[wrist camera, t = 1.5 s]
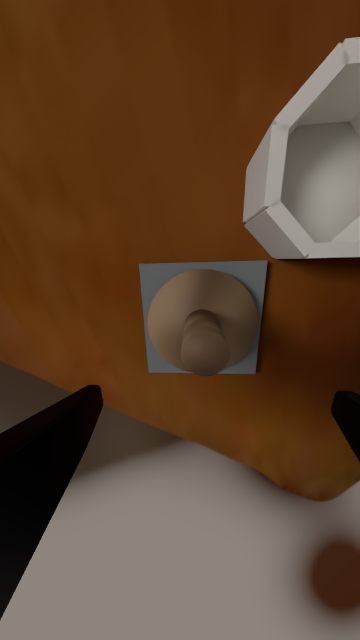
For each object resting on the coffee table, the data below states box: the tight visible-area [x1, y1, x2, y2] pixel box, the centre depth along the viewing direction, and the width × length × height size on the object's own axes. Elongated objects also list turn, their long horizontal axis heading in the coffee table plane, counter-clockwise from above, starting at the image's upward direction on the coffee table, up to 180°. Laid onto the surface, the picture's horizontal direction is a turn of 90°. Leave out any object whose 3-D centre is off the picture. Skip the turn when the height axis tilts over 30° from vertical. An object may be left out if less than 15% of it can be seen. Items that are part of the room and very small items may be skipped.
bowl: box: [243, 37, 360, 259], centre depth 11 cm, size 9×9×4 cm
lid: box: [148, 269, 258, 376], centre depth 13 cm, size 9×9×6 cm
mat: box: [139, 261, 267, 374], centre depth 17 cm, size 10×10×1 cm
